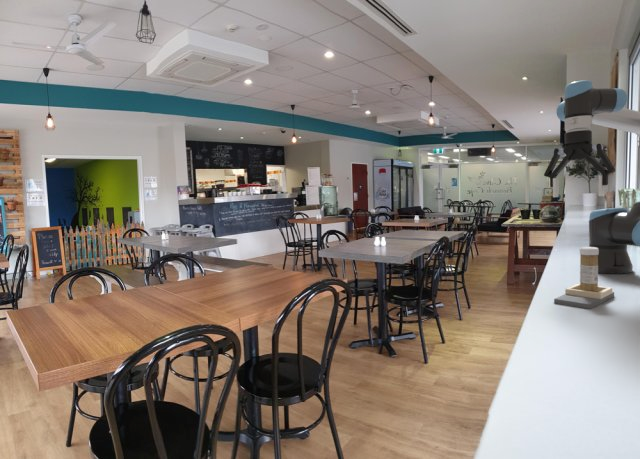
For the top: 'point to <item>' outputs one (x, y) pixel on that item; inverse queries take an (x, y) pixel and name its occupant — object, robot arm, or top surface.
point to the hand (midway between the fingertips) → (577, 196)
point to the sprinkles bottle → (589, 269)
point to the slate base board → (584, 297)
